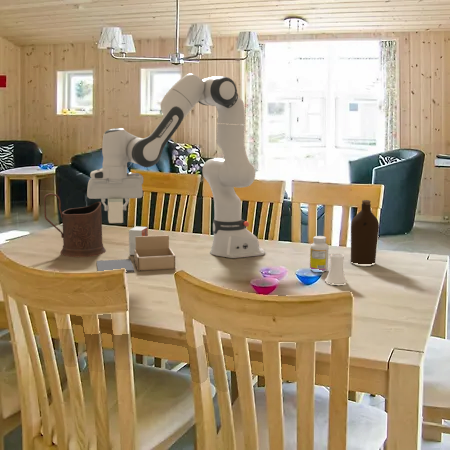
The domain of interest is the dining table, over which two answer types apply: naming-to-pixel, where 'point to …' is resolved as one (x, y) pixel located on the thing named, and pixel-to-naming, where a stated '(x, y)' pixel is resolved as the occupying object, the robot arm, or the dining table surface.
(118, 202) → the cream box
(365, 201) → the olive oil
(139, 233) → the small box
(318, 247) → the supplement bottle
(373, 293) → the dining table surface
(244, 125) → the robot arm
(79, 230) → the brown pitcher
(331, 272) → the salt shaker
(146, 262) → the carton
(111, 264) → the rubber mat
